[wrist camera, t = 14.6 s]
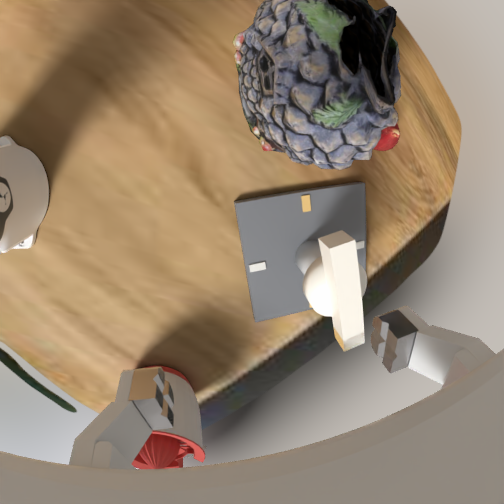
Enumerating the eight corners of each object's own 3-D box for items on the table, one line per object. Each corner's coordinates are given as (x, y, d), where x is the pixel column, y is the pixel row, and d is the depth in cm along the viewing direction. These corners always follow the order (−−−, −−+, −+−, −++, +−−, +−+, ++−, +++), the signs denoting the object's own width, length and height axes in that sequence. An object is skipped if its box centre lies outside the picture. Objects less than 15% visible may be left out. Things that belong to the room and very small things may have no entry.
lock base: (253, 317, 49) (265, 353, 41) (233, 201, 41) (243, 219, 33) (360, 290, 51) (386, 318, 43) (360, 181, 43) (394, 194, 35)
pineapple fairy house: (210, 35, 32) (228, -73, 9) (311, 21, 33) (412, -53, 10) (247, 171, 40) (312, 220, 17) (344, 148, 41) (472, 176, 18)
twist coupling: (290, 237, 34) (306, 256, 29) (350, 217, 35) (374, 232, 29) (312, 332, 40) (326, 358, 35) (362, 312, 41) (380, 335, 35)
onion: (350, 146, 41) (378, 150, 34) (351, 110, 39) (380, 107, 32) (381, 150, 42) (411, 156, 35) (382, 116, 40) (413, 116, 33)
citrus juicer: (176, 418, 57) (178, 495, 39) (109, 383, 50) (93, 464, 32) (222, 385, 55) (235, 471, 36) (151, 342, 48) (138, 436, 30)
